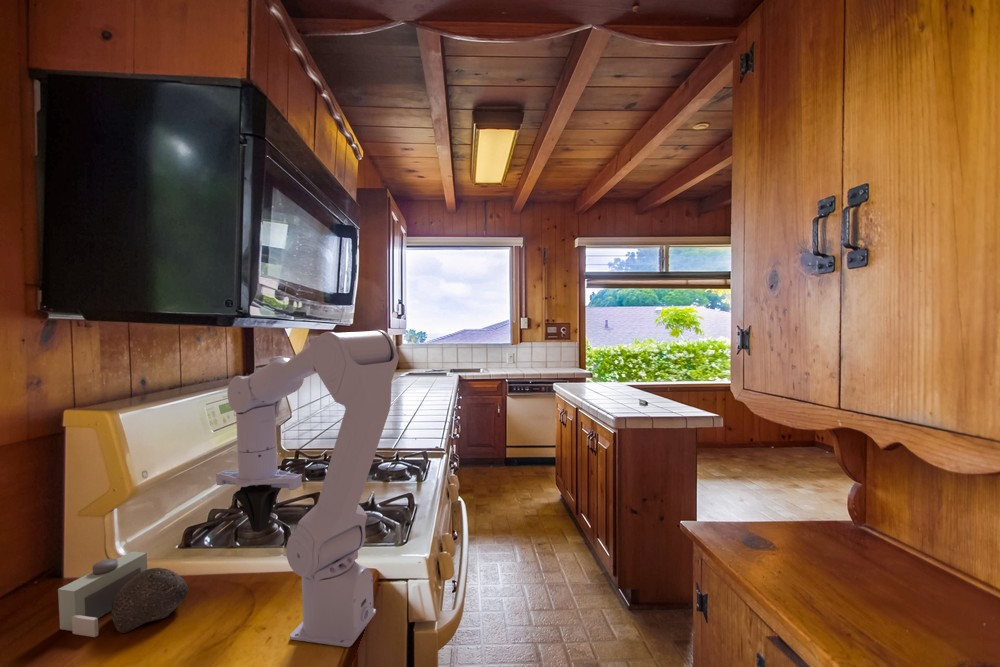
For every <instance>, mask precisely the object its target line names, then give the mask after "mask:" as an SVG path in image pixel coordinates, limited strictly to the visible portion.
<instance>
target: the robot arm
mask: <svg viewBox="0 0 1000 667" xmlns="http://www.w3.org/2000/svg"><path fill="white" fill-rule="evenodd" d="M399 360H400V355H399V353H398V351H397V349H396V346H395V343H394V341H393V339H392V338H391V336H390V335H389V334H388V333H387V332H386V331H384V330H381V329H373V330H370V331H369V330H368V331H350V332H346V331H345V332H334V331H326V332H323V333H321V334H319V336H316V337H312V338H311V339H310V343H309V345H308V346H306V347H305V348H304V349H302V350H301V351H300V352H298V353H297V354H295V355H294V356H293V357H290V358H289V357H283V356H282V355H281V356H272V357H271V358H269V360H268V362H269V363H268V364H266V365H264V366H262V367H257V368H255V369H253V373H251V374H250V375H245V376H243V375H234V376H233V378H232V379H231V380H230V381H229V383H228V386H227V392H226V393H227V394H226V395H227V401H228V403H229V407H230V408H231V409H232V411H234V412H235V416H236V419H235V420H236V442H237V464H238V466H237V467H238V468H237V469H234V470H233V469H231V470H229V469H225V470H222V471H220V472H218V473H216V474H215V479H216V480H215V482H216V486H224V485H235V486H236V487H240V488H239V490H237V491H235V492H234V497H235V498H236V500H237V501H238V502H239V503H240V505H241V506H242V508H243V509H244V512H245V513H246V517H247V518H248V521H249V523H250V526H251V530H252V532H254V533H255V532H256V533H261V532H263V531H265V529H267V528H268V527H269V523H270V517H271V514H272V510H273V507H274V504H275V501H276V499H277V497H278V495H279V493H280V491H281V489H288V490H289V491H296V490H297V489H299V488H300V487H302V486H303V483H302V481H303V480H302V474H301V473H300V474H297V473H293V472H288V471H285V470H281V469H278V444H277V442H278V441H277V418H278V417H279V415H280V405H281V403H282V401H283V399H284V398H286V397H288V396H289V395H291V394H293V393H295V392H297V391H298V390H300V389H301V388H302V386H303V383H304V381H305V378H308V377H310V376H313V375H315V374H317V375H318V377H319V378H320V380H321V381H322V383H323V384H324V386H325V388H326V389H327V391H328V393H329V394H330V395H331V397H332V399H333V401H334V402H335V403H336V404H340V405H342V406H344V409H345V410H344V413H343V417H342V421H341V423H340V427H339V430H338V434H337V437H336V440H335V442H334V443H335V444H334V447H333V450H332V454H331V456H330V461H329V463H328V467H327V469H326V470H327V471H326V473H325V477H324V479H323V483H322V486H321V491H320V494H319V497H318V499H317V503H316V504H315V505H314V506H312V508H311V509H310V510H309V511H308V512H306V513H305V514H304V516H303V517H301V519H300V520H298V522H297V525H296V529H295V530H294V532H292V533H291V534H290V535H289V537H288V539H287V543H286V547H285V548H286V549H285V550H286V553H285V555H286V559H287V562H288V565H289V566H290V568H291V569H292V571H293V572H294V573H295V574H296V575H297V576H299V577H301V599H302V601H301V604H302V622H301V623H300V624H299V625H298V626H297V627H296V628H295V629H294V630H292V632H291V633H290V634H289V639H290V640H293V641H301V642H308V643H313V644H314V643H316V644H321V645H323V644H324V645H329V646H336V647H344V648H350V647H351V646H353V644H354V643H355V642H356V640H357V639H358V638H359V636H360V635H361V634H362V632H363V631H364V630H365V628H366V627H367V626H368V624H369V622H370V621H371V620H372V618H373V617H374V616H375V615H376V613H377V609H376V608H374V579H373V572H372V570H371V568H370V567H367V566H364V565H361V564H359V563H358V562H356V560H357V559H358V558H359V550H361V549H362V548H363V546H364V544H365V541H366V522H367V519H368V515H367V513H366V511H365V510H364V508H363V507H362V506H361V505H360V501H361V499H362V494H363V492H364V489H365V487H366V483H367V480H368V477H369V473H370V470H371V468H372V465H373V462H374V459H375V456H376V453H377V451H378V450H377V449H378V447H379V443H380V440H381V438H382V434H383V432H384V429H385V425H386V421H387V419H388V416H389V413H390V410H391V407H392V406H391V405H392V382H393V379H394V376H395V372H396V369H397V367H398V362H399Z"/></svg>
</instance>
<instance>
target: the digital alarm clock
mask: <svg viewBox="0 0 1000 667" xmlns="http://www.w3.org/2000/svg"><path fill="white" fill-rule="evenodd" d="M147 556H148V554H147V552H142V551H129V553H126V554H124V555H122V556H120V557H118V558H107V559H104V560H101V561H98V562H96V563H94V564H93V565H92V571H91V572H89V573H87V574H85V575H83V576H81V577H79V578H77V579H75V580H73V581H71V582H70V583H67V584H65V585H63V586H61V587H59V588H58V589H57V594H58V613H59V629H60V630H63V631H64V630H65V631H70V632H72V634H73V635H79V636H85V637H90V638H91V637H92V638H96V637H98V636H99V619H100V618H101V617H102V616H105V614H107V613H109V612H112V610H111V609H112V606H111V605H112V600H113V599H114V597H115V595H116V594H117V593H118V592H119V591H120V590H121V588H122V587H123V586H124V585H125V584H126V583H127V582H129V581H130V580H131V579H132V578H133V577H135V576H136V575H138V574H139V573H141V572H143V571H145V570H147V569H148V557H147Z"/></svg>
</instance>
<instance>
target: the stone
mask: <svg viewBox="0 0 1000 667" xmlns="http://www.w3.org/2000/svg"><path fill="white" fill-rule="evenodd" d="M189 590H190V589H189V587H188V584H187V583H186V581H185V579H184V578H183V577H182V576H180V575H179V574H178V573H176V572H174V571H173V570H170V569H168V568H162V567H153V568H147V570H145V571H143V572H141V573H139V574H138V575H136V576H135V577H133V578H132V579H131V580H130V581H129V582H127V583H126V584H125V585H124V586H123V587H122V588H121V590H120V591H119V592H118V593H117V594H116V595H115V597H114V599H113V600H112V605H111V606H112V609H111V615H110V616H111V619H112V622H113V624H114V628H115V629H116V630H117V631H118V632H119V633H121V634H126V633H130V632H132V631H133V630H135V629H136V628H138V627H140V626H142V625H144V624H148V623H149V622H150V623H151V622H157V621H158V620H162V619H165V618H167V617H169V616H170V614H171V613H173V612H174V611H175V609H176V608H178V606H180V605H181V604H182V603H183V602H184V601H185V599H186V597H187V595H188V594H189Z"/></svg>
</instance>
